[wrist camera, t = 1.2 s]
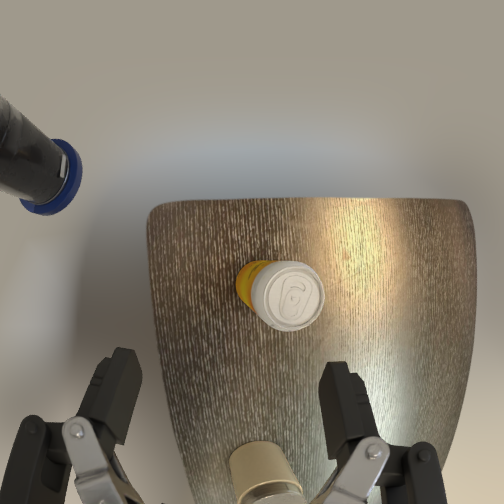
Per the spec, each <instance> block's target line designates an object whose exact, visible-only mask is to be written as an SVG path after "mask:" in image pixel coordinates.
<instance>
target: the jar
mask: <svg viewBox="0 0 504 504" xmlns="http://www.w3.org/2000/svg"><path fill="white" fill-rule="evenodd" d="M229 467H230V472H231V477H232V481H233V486H234V491H235V495H236V499H237V504H240V503H241V500H242V498H243V497H244V496H245V495H246V494H247V493H248V492H250V491H251V490H253V489H255V488H257V487H260V486H263V485H266V484H271V483H281V482H282V483H290V484H293V485H295V486H298V487H299V489H300V490H301V492H302V494H303V489H302V487H301V485H300V483H299V481H298V480H297V478H296V476H295V474H294V472H293V470H292V468H291V466H290V464H289V462H288V460H287V458H286V456H285V454H284V452H283V450H282V449H281V448H280V447H279V446H278V445H276V444H275V443H272V442H269V441H253V442H249V443H246V444H244V445H242V446H240V447H239V448H237V449H236V450H235V451H234V452H233V453H232V455H231V456H230V459H229Z"/></svg>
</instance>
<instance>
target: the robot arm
mask: <svg viewBox="0 0 504 504" xmlns="http://www.w3.org/2000/svg"><path fill="white" fill-rule="evenodd" d="M69 174H70V161H69V158H68V155H67V153H66V152H65V151H64V150H63V149H62V148H61V147H59V146H57V145H56V144H55V143H54V142H53V141H52V140H51V139H50V138H48V137H47V136H46V135H45V134H44V133H43V132H41V131H40V130H39V129H38V128H37V127H36V126H35V125H34V124H33V123H31V122H30V121H29V120H28V119H27V118H26V117H25V116H24V115H22V113H20V112H19V111H18V110H17V109H16V108H15V107H14V106H13V105H12V104H10V103H9V102H8V101H7V100H6V99H5V98H4V97H3V96H2V95H1V94H0V191H2V192H5V193H7V194H10V195H13V196H16V197H18V198H21V199H23V200H26V201H29V202H30V203H32V204H35V205H45V204H48V203H50V202H52V201H53V200H55V199H56V198H57V197H58V196H59V195H60V194H61V192H62V191H63V189H64V188H65V186H66V183H67V181H68V178H69ZM141 383H142V370H141V367H140V364H139V362H138V359H137V356H136V353H135V351H134V350H132V349H126V348H120V347H117V348H116V349H115V351H114V353H113V355H112V358H107V357H105V358H104V359H103V360H102V361H101V362H100V363H99V364H98V366H97V368H96V370H95V373H94V374H93V377H92V379H91V381H90V385H89V386H88V388H87V391H86V393H85V396H84V398H83V400H82V403H81V405H80V408H79V410H78V412H77V414H76V416H74V417H71V418H69V419H68V420H66V422H62V423H54V422H52V423H51V422H44V421H43V420H42V419H41V418H40V417H39V416H37V415H29V416H27V417H26V418H24V419H23V421H22V422H21V424H20V427H19V430H18V433H17V435H16V438H15V442H14V444H13V447H12V450H11V454H10V457H9V460H8V463H7V467H6V470H5V474H4V478H3V482H2V486H1V490H0V504H64V502H65V496H66V491H67V486H68V481H69V476H70V472H71V467H72V465H73V468H74V470H75V473H76V479H75V481H74V482H75V487H76V489H77V492H78V494H79V496H80V498H81V501H82V503H83V504H144V502H143V501H142V499H141V497H140V496H139V494H138V493H137V492H136V491H135V489H134V488H133V487H132V485H131V483H130V482H129V480H128V478H127V476H126V474H125V472H124V470H123V468H122V466H121V464H120V462H119V460H118V458H117V456H116V454H115V452H114V448H115V444H120V445H124V443H125V439H126V435H127V432H128V428H129V424H130V421H131V417H132V414H133V410H134V407H135V404H136V400H137V397H138V394H139V390H140V387H141ZM318 393H319V400H320V406H321V412H322V419H323V425H324V432H325V439H326V445H327V452H328V460H332V459H336V460H337V467H336V468H335V470H334V471H333V473H332V474H331V476H330V477H329V479H328V480H327V482H326V483H325V484H324V486H323V487H322V489H321V490H320V491H319V493H318V494H317V495H316V497H315V498H314V499H313V500H312V502H311V503H310V504H367V503H368V502H367V498H368V496H369V494H370V492H371V491H372V489H373V487H374V486H380V490H381V499H382V504H447V499H446V494H445V488H444V483H443V478H442V474H441V469H440V465H439V460H438V456H437V452H436V450H435V448H434V447H433V446H432V445H431V444H430V443H427V442H418V443H416V444H414V445H413V446H412V447H404V446H394V445H390V444H388V443H386V442H385V441H384V440H383V439H381V437H380V436H379V434H378V431H377V427H376V423H375V419H374V416H373V412H372V408H371V405H370V403H369V398H368V395H367V391H366V387H365V384H364V381H363V380H362V379H361V378H360V376H359V375H358V374H357V373H349V369H348V365H347V363H346V362H345V361H338V362H327V364H326V367H325V369H324V372H323V374H322V377H321V379H320V382H319V389H318ZM162 504H163V503H162Z"/></svg>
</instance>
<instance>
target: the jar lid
mask: <svg viewBox="0 0 504 504" xmlns="http://www.w3.org/2000/svg"><path fill="white" fill-rule="evenodd" d="M240 504H307V501H306V499H305V497H304V496H303V494H302V492H301V490H300V489H299V487H298V486H295V485H293V484H290V483H282V482H281V483H271V484H266V485H263V486H260V487H257V488H255V489H253V490H251V491H250V492H248V493H247V494H246V495H245V496H244V497H243V498H242V500H241V503H240Z"/></svg>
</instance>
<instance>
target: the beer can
mask: <svg viewBox="0 0 504 504" xmlns="http://www.w3.org/2000/svg"><path fill="white" fill-rule="evenodd" d="M236 290H237V293H238V295H239V297H240V299H241V300H242V301H243V302H244V303H245V304H246V305H247V306H248V307H250V308H251V309H252V310H253V311H254V312H255V313H256V314H257V315H258V316H259V317H260V318H261V319H262V320H263V321H265V322H266V323H267V324H268V325H269V326H271V327H272V328H274V329H277V330H280V331H296V330H299V329H302V328H304V327H306V326H308V325H310V324H311V323H312V322H313V321H314V320H315V319H316V318H317V317H318V316H319V314H320V312H321V310H322V308H323V305H324V298H325V295H324V288H323V285H322V282H321V280H320V278H319V276H318V275H317V273H316V272H315V271H314V270H313V269H312V268H311V267H309V266H308V265H306V264H304V263H301V262H298V261H265V260H258V261H252V262H250V263H248V264H246V265H245V266H244V267H243V268H242V269H241V270H240V272H239V273H238V276H237V279H236Z"/></svg>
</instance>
